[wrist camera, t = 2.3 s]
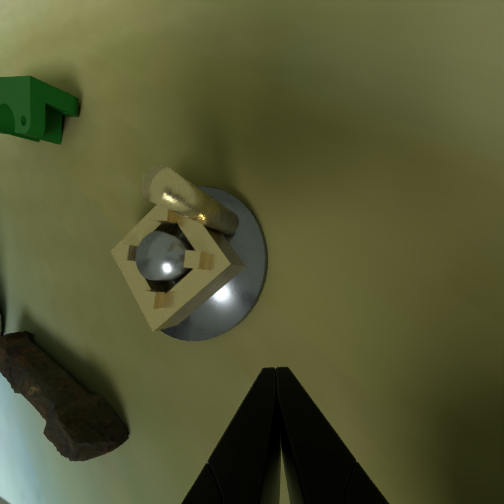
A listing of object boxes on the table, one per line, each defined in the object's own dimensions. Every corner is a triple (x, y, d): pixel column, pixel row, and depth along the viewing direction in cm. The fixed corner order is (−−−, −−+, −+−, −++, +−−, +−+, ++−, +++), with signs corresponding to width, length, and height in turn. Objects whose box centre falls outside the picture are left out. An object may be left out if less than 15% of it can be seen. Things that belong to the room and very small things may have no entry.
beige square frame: (265, 250, 18) (211, 226, 10) (178, 324, 20) (76, 352, 12) (211, 183, 21) (135, 122, 13) (138, 254, 23) (32, 240, 15)
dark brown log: (22, 356, 29) (-32, 370, 25) (34, 327, 29) (-19, 336, 25) (123, 459, 23) (72, 502, 18) (138, 422, 23) (91, 455, 18)
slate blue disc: (302, 273, 19) (289, 269, 14) (182, 369, 21) (133, 397, 16) (210, 162, 23) (174, 127, 18) (119, 253, 25) (65, 245, 20)
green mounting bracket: (68, 150, 38) (-17, 130, 32) (69, 110, 37) (-19, 81, 30) (81, 146, 30) (-30, 119, 23) (82, 95, 29) (-34, 51, 22)
